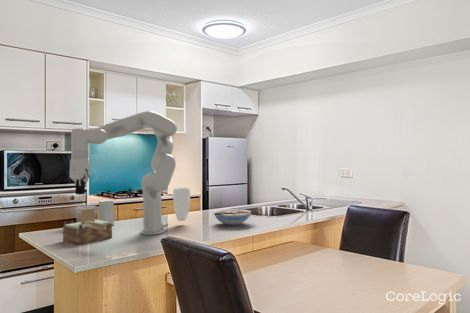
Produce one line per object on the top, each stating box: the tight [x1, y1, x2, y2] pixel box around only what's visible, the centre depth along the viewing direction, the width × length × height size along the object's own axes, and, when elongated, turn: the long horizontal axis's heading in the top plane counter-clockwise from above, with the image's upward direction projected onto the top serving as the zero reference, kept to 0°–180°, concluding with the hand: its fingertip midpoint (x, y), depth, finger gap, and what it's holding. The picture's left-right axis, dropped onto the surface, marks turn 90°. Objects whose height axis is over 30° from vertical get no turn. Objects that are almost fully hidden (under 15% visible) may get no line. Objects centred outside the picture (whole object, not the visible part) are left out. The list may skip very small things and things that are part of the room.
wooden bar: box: [85, 221, 106, 230], centre depth 161 cm, size 2×14×2 cm, turn 54°
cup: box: [172, 187, 191, 222], centre depth 211 cm, size 10×10×22 cm
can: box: [75, 204, 99, 223], centre depth 206 cm, size 11×11×12 cm
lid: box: [65, 208, 110, 229], centre depth 175 cm, size 17×12×8 cm
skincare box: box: [98, 199, 115, 226], centre depth 211 cm, size 8×6×15 cm
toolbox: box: [62, 220, 113, 246], centre depth 175 cm, size 18×14×9 cm
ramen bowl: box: [212, 208, 253, 226], centre depth 213 cm, size 25×23×8 cm
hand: (80, 193), depth 168 cm, fingers closed
